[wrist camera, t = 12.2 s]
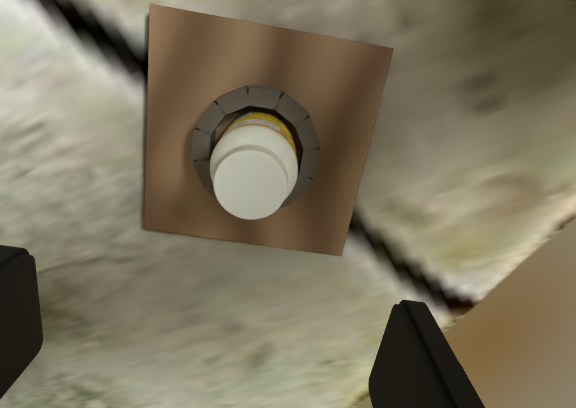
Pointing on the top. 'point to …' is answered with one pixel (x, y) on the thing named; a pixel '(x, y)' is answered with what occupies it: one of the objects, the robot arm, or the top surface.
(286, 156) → the supplement bottle
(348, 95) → the collar board
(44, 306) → the top surface
